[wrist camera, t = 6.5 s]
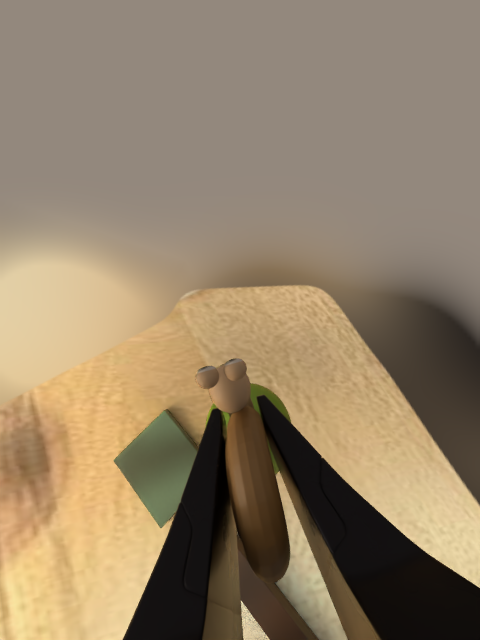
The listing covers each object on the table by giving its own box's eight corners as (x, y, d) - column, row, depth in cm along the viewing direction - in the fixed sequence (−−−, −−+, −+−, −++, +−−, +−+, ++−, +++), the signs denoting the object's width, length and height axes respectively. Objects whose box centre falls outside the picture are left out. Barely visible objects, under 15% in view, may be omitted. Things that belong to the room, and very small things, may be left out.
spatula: (344, 626, 15) (353, 647, 14) (294, 707, 14) (298, 737, 13) (167, 408, 19) (162, 411, 18) (117, 457, 18) (109, 463, 17)
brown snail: (266, 362, 16) (330, 328, 4) (292, 447, 14) (509, 756, 3) (202, 380, 16) (93, 393, 4) (221, 469, 14) (121, 937, 2)
